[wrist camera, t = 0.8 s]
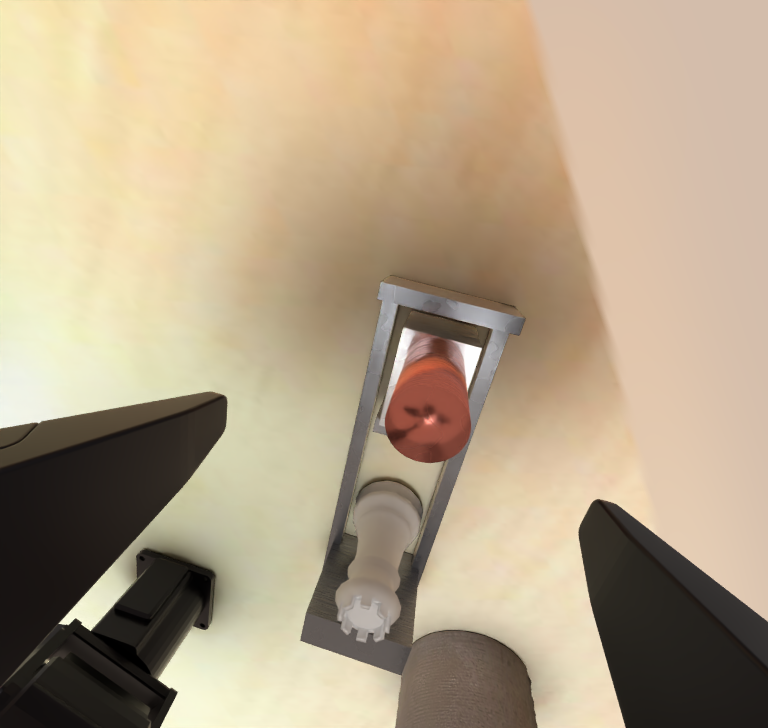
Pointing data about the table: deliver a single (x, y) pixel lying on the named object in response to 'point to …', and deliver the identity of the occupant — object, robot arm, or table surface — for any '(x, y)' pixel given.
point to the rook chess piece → (377, 558)
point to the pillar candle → (464, 684)
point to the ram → (430, 389)
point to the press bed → (343, 547)
